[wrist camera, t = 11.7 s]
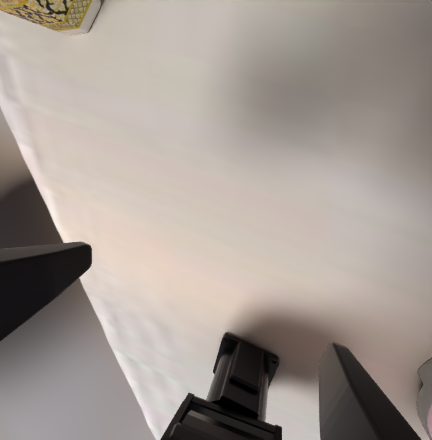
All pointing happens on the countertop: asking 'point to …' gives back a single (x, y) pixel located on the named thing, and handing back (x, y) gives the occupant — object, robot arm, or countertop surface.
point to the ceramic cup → (55, 13)
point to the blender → (425, 397)
